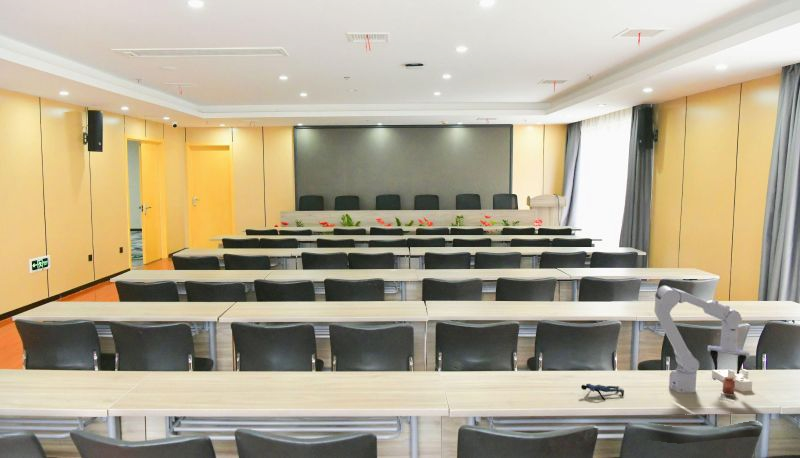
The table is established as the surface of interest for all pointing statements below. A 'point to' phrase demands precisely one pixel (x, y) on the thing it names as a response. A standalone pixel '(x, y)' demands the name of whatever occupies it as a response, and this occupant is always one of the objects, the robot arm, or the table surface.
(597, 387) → the person figurine
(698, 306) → the robot arm
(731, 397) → the board
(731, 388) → the pawn
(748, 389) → the die
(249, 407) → the table surface
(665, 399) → the table surface
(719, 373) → the bracket
